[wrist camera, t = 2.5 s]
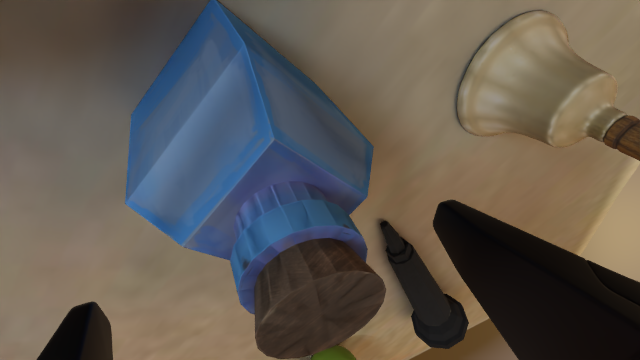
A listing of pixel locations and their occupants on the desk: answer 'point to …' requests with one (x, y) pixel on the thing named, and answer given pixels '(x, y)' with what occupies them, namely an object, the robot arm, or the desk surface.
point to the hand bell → (542, 89)
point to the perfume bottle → (258, 183)
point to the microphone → (425, 295)
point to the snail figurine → (334, 354)
